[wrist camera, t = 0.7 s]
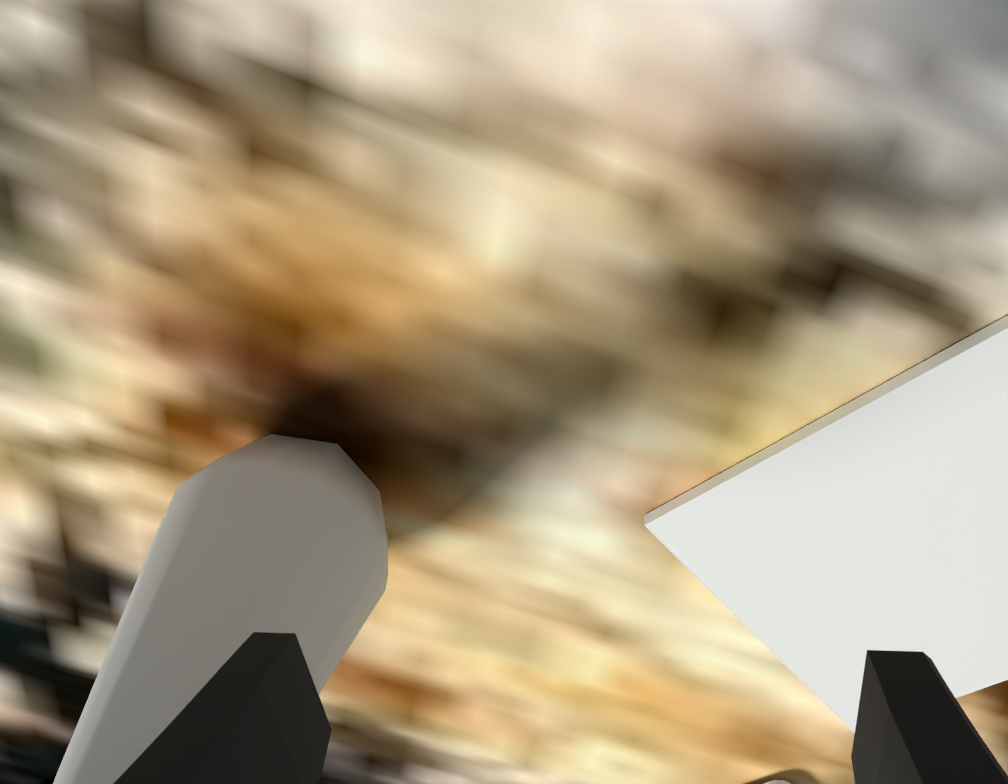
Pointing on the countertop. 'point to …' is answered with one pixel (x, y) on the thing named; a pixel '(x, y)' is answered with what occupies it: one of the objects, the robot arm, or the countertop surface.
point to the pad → (870, 529)
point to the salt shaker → (235, 589)
